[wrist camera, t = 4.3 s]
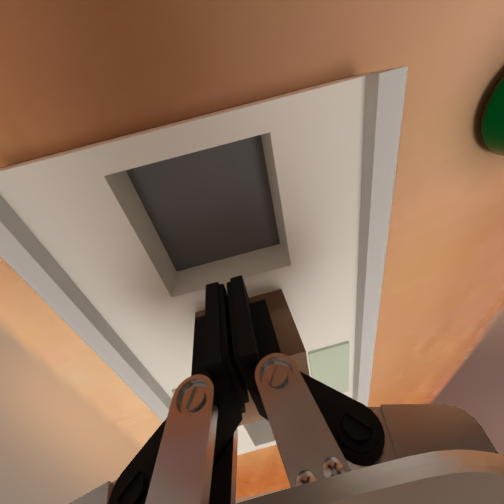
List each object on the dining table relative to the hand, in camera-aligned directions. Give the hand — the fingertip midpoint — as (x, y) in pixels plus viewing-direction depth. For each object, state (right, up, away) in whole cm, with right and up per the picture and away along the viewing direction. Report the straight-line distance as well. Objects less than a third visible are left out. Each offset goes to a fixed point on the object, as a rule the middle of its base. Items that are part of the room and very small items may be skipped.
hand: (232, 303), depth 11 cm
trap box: (+1, -4, +8) cm, 9 cm away
